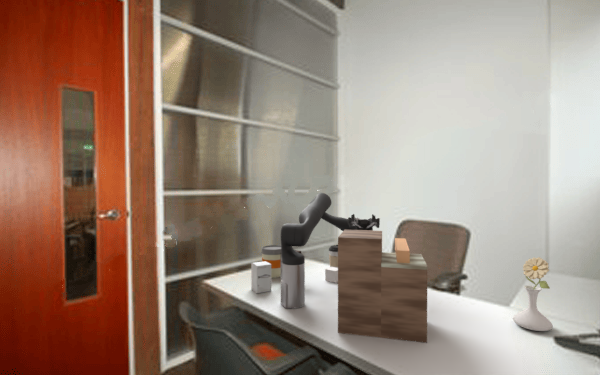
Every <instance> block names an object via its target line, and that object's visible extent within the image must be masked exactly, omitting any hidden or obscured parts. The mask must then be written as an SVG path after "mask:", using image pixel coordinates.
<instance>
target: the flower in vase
mask: <svg viewBox="0 0 600 375" xmlns="http://www.w3.org/2000/svg"><path fill="white" fill-rule="evenodd" d="M522 271H523V275H525V278H526V279H527V280H528V281H529V282H531V283H532V284H534V285H530V284H529V285H524V286H523V288H525V290H526V292H527V295H528V296H527V297H528V305H527V307H526V309H524V310H522V311H520V312H517V313H516V314H514V315H513V317H512V320H513V322H514V323H515V324H516V325H518V326H519V327H521V328H524V329H526V330H531V331H536V332H548V331H550V330H552V329H553V328H554V326H553V323H552V321H550V319H549V318H547V316H546V315H544V314H542V313H541V312H540V311H539V309H538V307H537V306H538V305H537V300H538V296H539V293H540V292H541V291H542V289H547V290H548V289H550V286H549V284H548V283H547V281H546V280H541V279H542V278H544V277H545V276H546V275H547V273H548V272H549V271H550V269H549V263H548V261H546V260H544V258H542V257H540V256H539V257H535V256H534V257H532V258H529V259H527V260H525V263H524V264H523V266H522ZM536 279H538V282H535V281H534V280H536ZM538 285H539V286H538Z"/></svg>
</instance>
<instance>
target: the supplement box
mask: <svg viewBox="0 0 600 375" xmlns="http://www.w3.org/2000/svg"><path fill="white" fill-rule="evenodd" d="M250 267H251V278H250V279H251V281H250V283H251V290H252V291H253V292H254V293H255V294H260V293H266V292H272V278H271V264H270V263H268V262H266V261H264V262H262V261H259V262H258V261H256V262H251V266H250Z"/></svg>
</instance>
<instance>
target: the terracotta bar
mask: <svg viewBox="0 0 600 375" xmlns="http://www.w3.org/2000/svg"><path fill="white" fill-rule="evenodd" d="M394 250H395V251H394V253H396V260H397V263H410V254H411V252H410V248H409V245H408V242H407V238H404V237H401V238H400V237H395V238H394Z"/></svg>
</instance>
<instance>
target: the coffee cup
mask: <svg viewBox="0 0 600 375" xmlns="http://www.w3.org/2000/svg"><path fill="white" fill-rule="evenodd" d="M328 256H329V257H328V259H329V268H330V267H335V268H338V244H336V245H335V244H334V245H330V247H328Z"/></svg>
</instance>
